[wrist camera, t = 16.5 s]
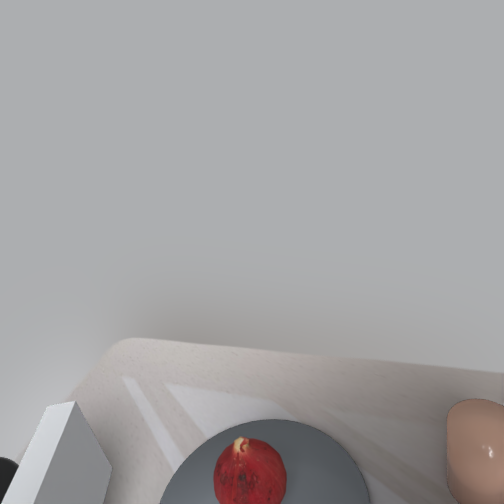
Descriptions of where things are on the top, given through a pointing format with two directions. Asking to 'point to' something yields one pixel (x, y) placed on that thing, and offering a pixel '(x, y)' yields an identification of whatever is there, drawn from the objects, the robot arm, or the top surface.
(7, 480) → the supplement container
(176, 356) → the top surface
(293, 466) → the slate plate
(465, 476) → the cylinder
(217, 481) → the red pomegranate
